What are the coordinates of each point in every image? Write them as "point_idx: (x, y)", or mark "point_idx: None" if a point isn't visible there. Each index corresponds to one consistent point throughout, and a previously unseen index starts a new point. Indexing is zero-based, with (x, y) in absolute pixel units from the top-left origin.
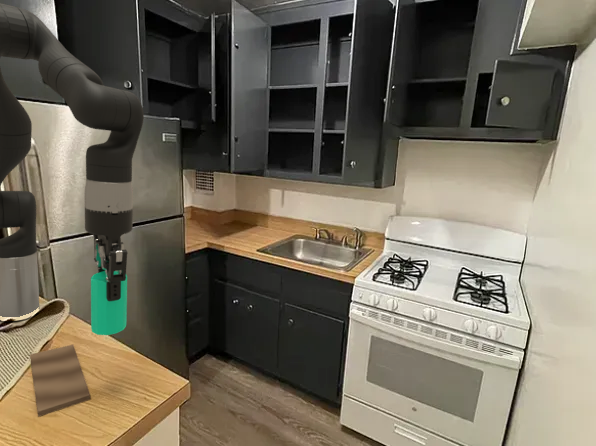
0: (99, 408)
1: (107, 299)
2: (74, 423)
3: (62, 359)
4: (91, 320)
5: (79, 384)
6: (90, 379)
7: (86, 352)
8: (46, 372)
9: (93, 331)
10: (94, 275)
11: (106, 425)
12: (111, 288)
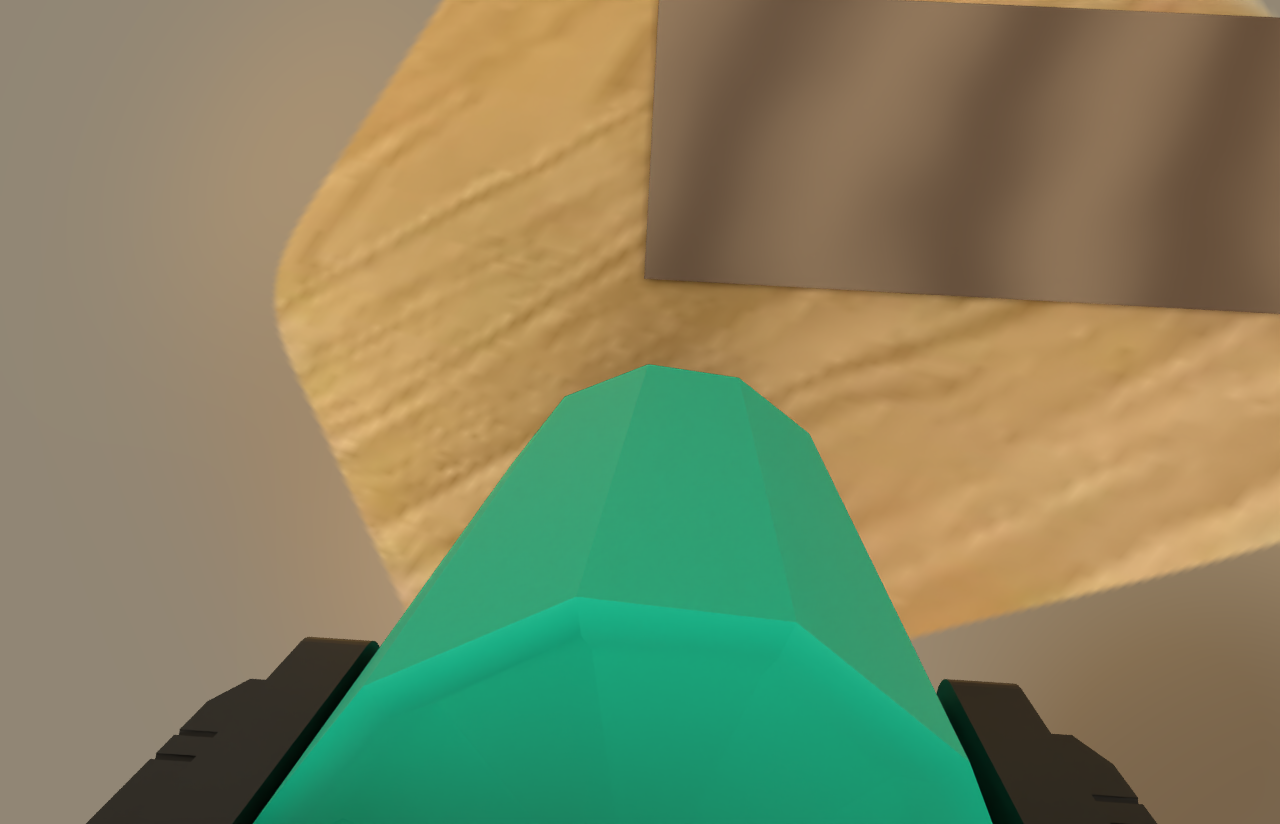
0: (535, 299)
1: (300, 642)
2: (487, 157)
3: (1166, 211)
4: (700, 392)
5: (789, 247)
6: (847, 323)
7: (1195, 377)
8: (1064, 91)
9: (625, 375)
10: (880, 724)
11: (376, 295)
12: (103, 812)
